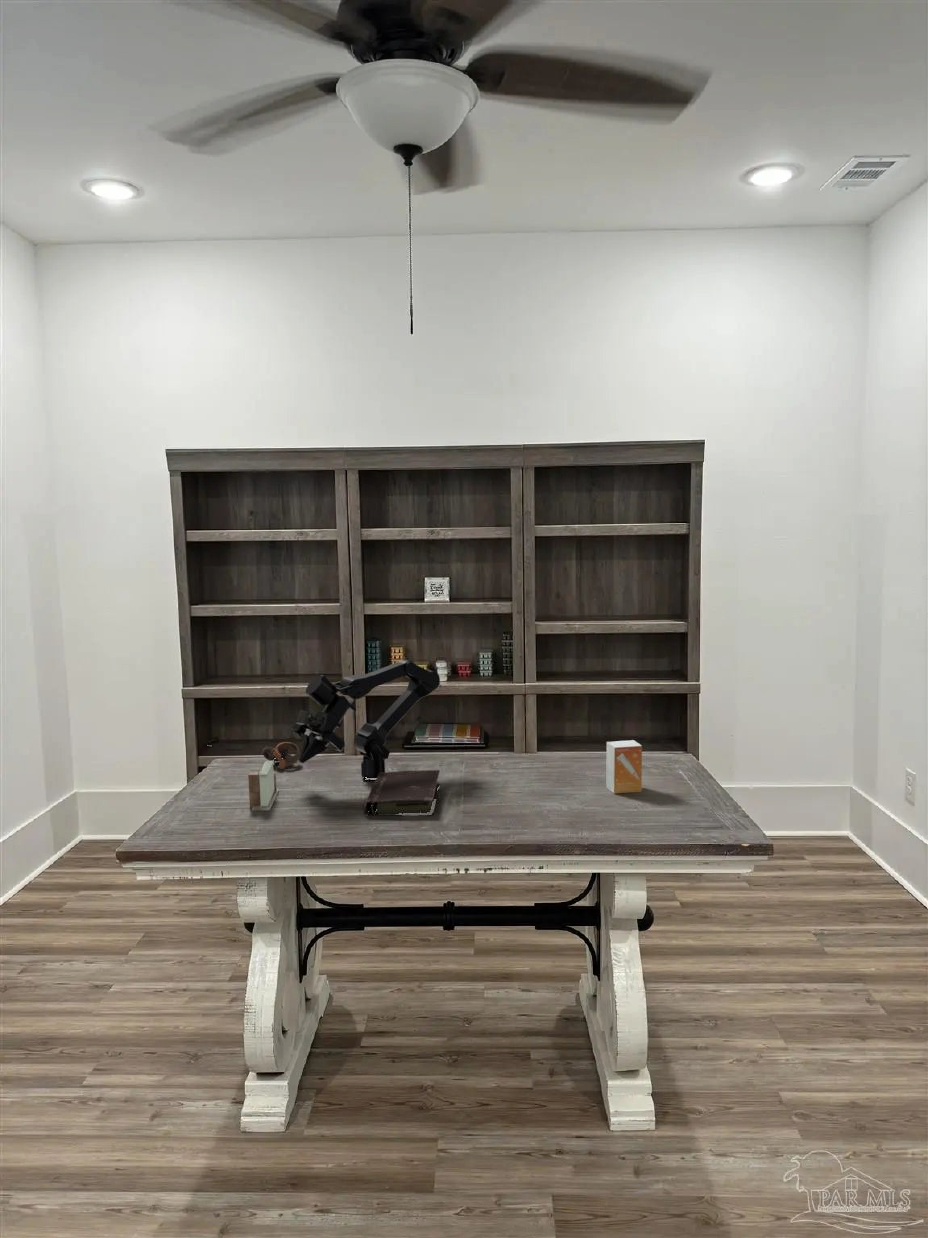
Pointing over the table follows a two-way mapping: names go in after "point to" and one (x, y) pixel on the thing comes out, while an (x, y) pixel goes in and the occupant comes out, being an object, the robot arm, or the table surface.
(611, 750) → the small box
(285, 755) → the brown looped band
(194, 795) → the table surface
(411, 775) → the diary
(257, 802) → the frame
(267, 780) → the pale green flat panel
